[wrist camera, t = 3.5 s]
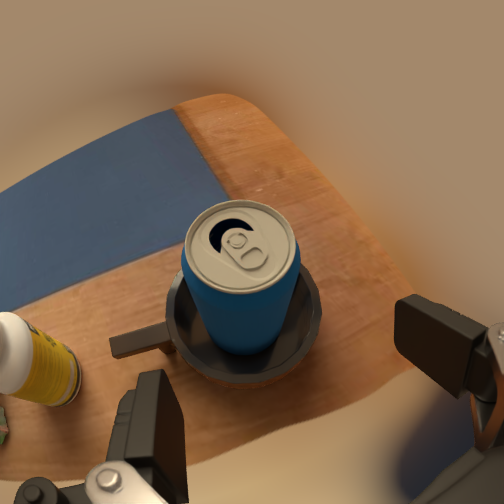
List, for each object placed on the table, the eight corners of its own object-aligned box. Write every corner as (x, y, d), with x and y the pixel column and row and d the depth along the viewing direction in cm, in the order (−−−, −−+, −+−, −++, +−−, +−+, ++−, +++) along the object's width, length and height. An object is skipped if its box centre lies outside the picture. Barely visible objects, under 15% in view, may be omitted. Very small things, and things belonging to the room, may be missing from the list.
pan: (201, 407, 21) (191, 405, 18) (163, 285, 27) (152, 264, 24) (333, 357, 23) (347, 345, 20) (279, 248, 29) (283, 223, 26)
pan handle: (130, 366, 23) (112, 356, 19) (126, 350, 23) (108, 337, 20) (182, 351, 24) (171, 339, 20) (177, 335, 24) (166, 320, 21)
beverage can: (249, 274, 27) (249, 178, 17) (296, 325, 25) (330, 249, 15) (192, 315, 25) (154, 234, 15) (238, 372, 22) (227, 329, 12)
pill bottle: (94, 362, 22) (12, 315, 13) (70, 420, 19) (-21, 401, 9) (49, 333, 24) (-26, 279, 14) (27, 385, 20) (-57, 350, 10)
